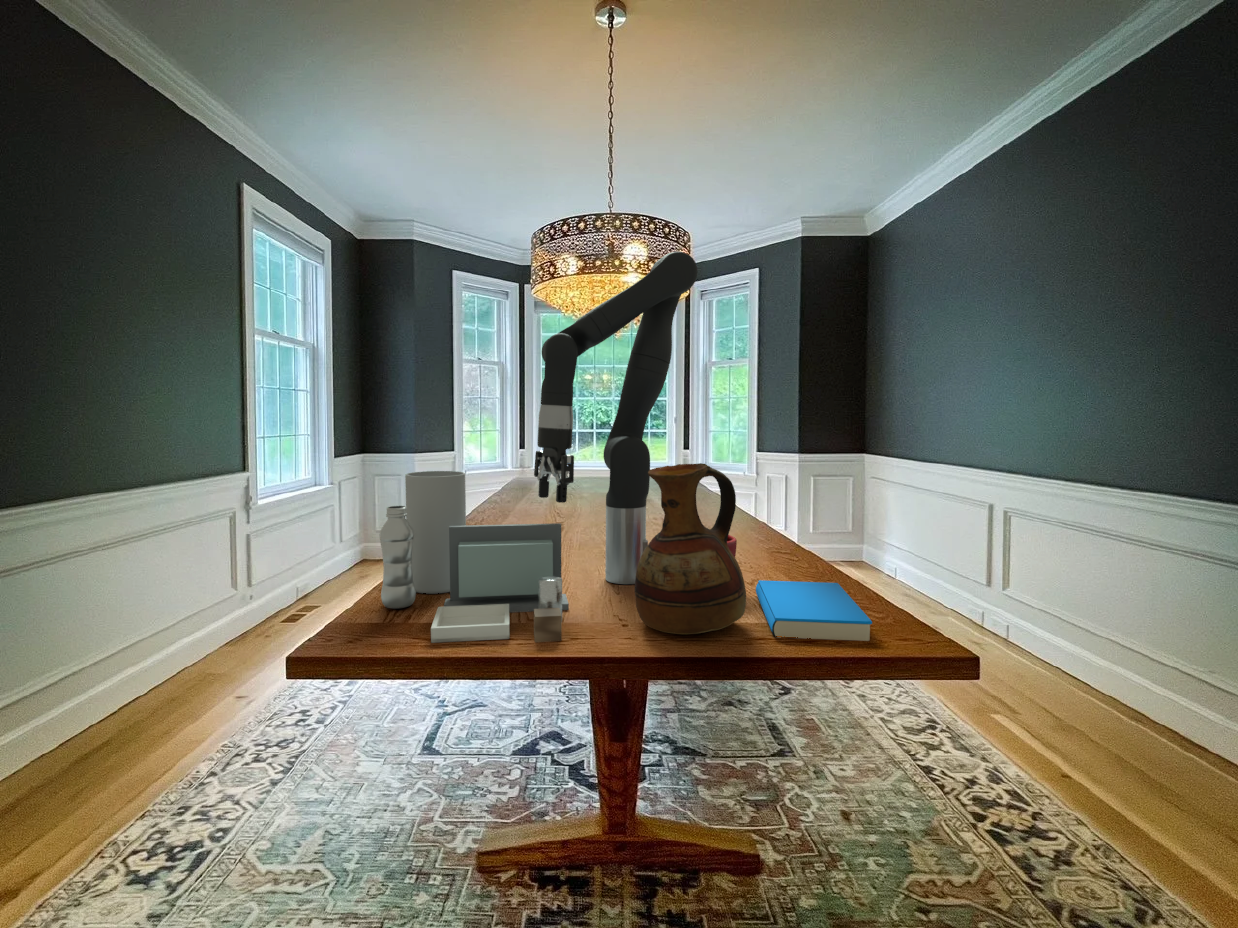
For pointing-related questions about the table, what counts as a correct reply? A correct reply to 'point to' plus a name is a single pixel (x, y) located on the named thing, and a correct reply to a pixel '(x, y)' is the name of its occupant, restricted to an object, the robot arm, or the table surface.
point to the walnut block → (547, 625)
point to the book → (812, 611)
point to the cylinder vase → (433, 525)
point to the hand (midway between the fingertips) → (552, 499)
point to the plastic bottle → (397, 559)
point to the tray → (470, 623)
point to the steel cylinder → (550, 592)
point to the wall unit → (503, 564)
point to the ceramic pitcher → (690, 559)
